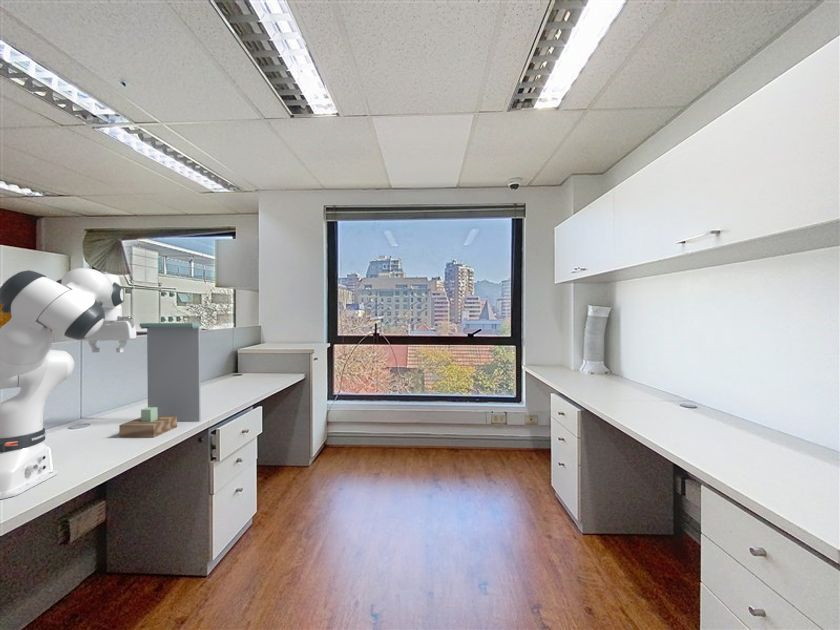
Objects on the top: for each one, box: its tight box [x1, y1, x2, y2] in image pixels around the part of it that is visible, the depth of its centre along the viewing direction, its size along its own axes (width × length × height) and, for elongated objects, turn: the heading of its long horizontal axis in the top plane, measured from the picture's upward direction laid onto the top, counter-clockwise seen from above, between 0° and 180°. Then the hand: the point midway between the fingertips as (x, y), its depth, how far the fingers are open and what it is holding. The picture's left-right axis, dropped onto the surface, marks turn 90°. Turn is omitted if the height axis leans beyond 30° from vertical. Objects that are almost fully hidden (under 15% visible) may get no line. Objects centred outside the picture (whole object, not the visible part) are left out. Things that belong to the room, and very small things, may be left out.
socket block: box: [118, 416, 178, 439], centre depth 158 cm, size 14×14×5 cm
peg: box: [140, 406, 158, 422], centre depth 158 cm, size 4×4×10 cm
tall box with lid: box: [139, 322, 202, 423], centre depth 171 cm, size 6×24×46 cm, turn 89°
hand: (107, 352), depth 144 cm, fingers open, 8 cm apart
